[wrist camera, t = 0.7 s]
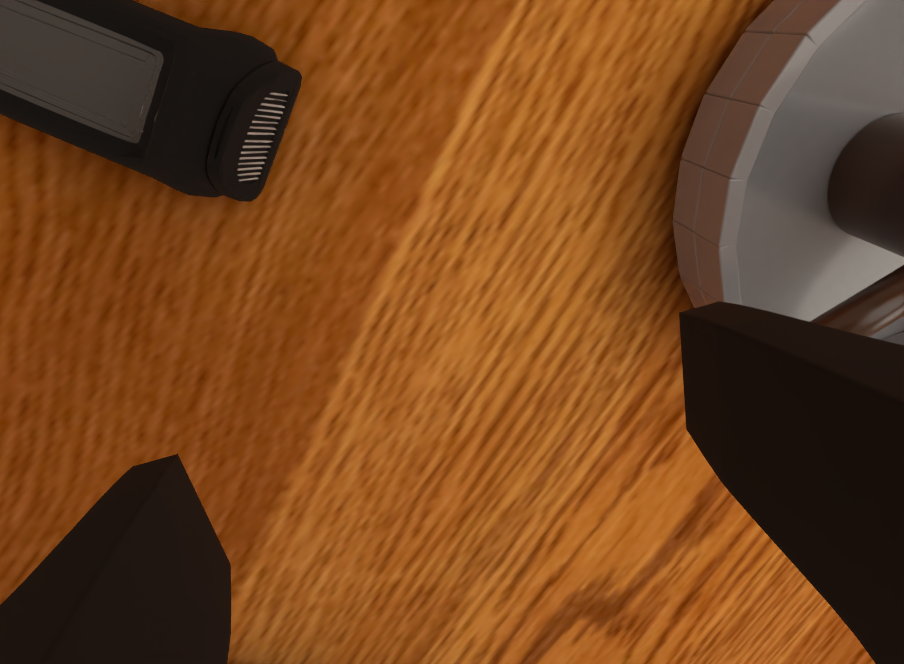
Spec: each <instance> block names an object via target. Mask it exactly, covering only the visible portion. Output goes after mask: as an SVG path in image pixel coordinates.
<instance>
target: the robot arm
mask: <svg viewBox="0 0 904 664" xmlns="http://www.w3.org/2000/svg"><path fill="white" fill-rule="evenodd" d="M679 318H680V334H681V349H682V365H683V381H684V397H685V413H686V428H687V431H688V432H689V434H690V435H691V437H692V438H693V440H694V441H695V443H696V445H697V446H698V448H699V449H700V451H701V452H702V454H703V456H704V457H705V459H706V460H707V462H708V463H709V464H710V466H711V467H712V469H713V470H714V472H715V473H716V475H717V476H718V478H719V479H720V480H721V482H722V483H723V484H724V486H725V487H726V488H727V489H728V490H729V491H730V493H731V494H732V495H733V496H734V497H735V498H736V500H737V501H738V502H739V503H740V504H741V505H742V506H743V508H744V509H745V510H746V511H747V512H748V513H749V514H750V516H751V517H752V518H753V519H754V520H755V521H756V522H757V524H758V525H759V526H760V527H761V528H762V529H763V530H764V531H765V533H766V534H767V535H768V536H769V537H770V538H771V539H772V540H773V541H774V543H775V544H776V545H777V546H778V547H779V548H780V549H781V550H782V552H783V553H784V554H785V555H786V556H787V557H788V558H789V559H790V561H791V562H792V563H793V564H794V565H795V566H796V567H797V568H798V569H799V571H800V572H801V573H802V574H803V575H804V576H805V577H806V578H807V580H808V581H809V582H810V583H811V584H812V585H813V586H814V587H815V589H816V590H817V591H818V592H819V593H820V594H821V595H822V596H823V597H824V599H825V600H826V601H827V602H828V603H829V604H830V605H831V607H832V608H833V609H834V610H835V611H836V613H837V614H838V615H839V616H840V617H841V619H842V620H843V621H844V622H845V624H846V625H847V626H848V627H849V628H850V630H851V631H852V632H853V633H854V635H855V636H856V637H857V638H858V640H859V641H860V643H861V644H862V645H863V647H864V648H865V649H866V651H867V652H868V653H869V655H870V656H871V658H872V659H873V660H874V662H875V663H876V664H904V345H901V344H896V343H892V342H888V341H884V340H879V339H875V338H871V337H867V336H863V335H859V334H855V333H851V332H847V331H843V330H839V329H835V328H831V327H828V326H824V325H820V324H816V323H812V322H808V321H805V320H801V319H797V318H793V317H789V316H785V315H782V314H778V313H774V312H770V311H766V310H761V309H757V308H753V307H749V306H744V305H739V304H734V303H728V302H721V301H718V302H715V303H711V304H708V305H704V306H701V307H697V308H693V309H690V310H686V311H683V312H679ZM230 635H231V566H230V562H229V560H228V558H227V556H226V554H225V552H224V550H223V548H222V546H221V544H220V541H219V539H218V537H217V535H216V533H215V531H214V529H213V527H212V525H211V523H210V521H209V518H208V516H207V514H206V512H205V510H204V508H203V506H202V504H201V502H200V500H199V498H198V496H197V493H196V491H195V489H194V487H193V485H192V483H191V481H190V479H189V477H188V475H187V473H186V470H185V468H184V466H183V464H182V462H181V460H180V458H179V456H178V454H176V455H172V456H169V457H165V458H162V459H158V460H154V461H151V462H147V463H144V464H140V465H137V466H133V467H132V468H131V469H129V470H128V471H127V472H126V473H125V474H124V475H123V476H122V477H121V478H120V479H119V480H118V481H117V482H116V483H115V484H114V485H113V486H112V487H111V488H110V489H109V490H108V491H107V492H106V493H105V494H104V495H103V496H102V497H101V498H100V499H99V500H98V502H97V503H96V504H95V505H94V506H93V507H92V508H91V509H90V510H89V511H88V512H87V513H86V515H85V516H84V517H83V518H82V519H81V520H80V521H79V522H78V523H77V524H76V526H75V527H74V528H73V529H72V530H71V531H70V532H69V533H68V534H67V535H66V536H65V537H64V539H63V540H62V541H61V542H60V543H59V544H58V545H57V546H56V547H55V548H54V549H53V550H52V552H51V553H50V554H49V555H48V556H47V557H46V558H45V559H44V560H43V561H42V562H41V563H40V565H39V566H38V567H37V568H36V569H35V570H34V571H33V572H32V573H31V574H30V575H29V576H28V578H27V579H26V580H25V581H24V582H23V583H22V584H21V585H20V586H19V587H18V588H17V589H16V590H15V591H14V592H13V593H12V594H11V595H10V596H9V597H8V598H7V599H6V600H5V601H4V602H3V603H2V604H1V605H0V664H227V660H228V652H229V644H230Z"/></svg>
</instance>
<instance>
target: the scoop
mask: <svg viewBox="0 0 904 664" xmlns="http://www.w3.org/2000/svg"><path fill="white" fill-rule="evenodd" d="M828 205H829V209H830V212H831V215H832V217H833V219H834V221H835V222H836V224H837V225H838V226H839V227H840V228H841V229H842V230H843V231H845V232H846V233H848V234H850V235H852V236H854V237H857V238H859V239H861V240H864V241H866V242H869V243H871V244H873V245H876V246H878V247H880V248H883V249H885V250H887V251H890V252H892V253H895V254H897V255H899V256H902V257H904V113H899V114H893V115H889V116H885V117H883V118H880V119H878V120H876V121H874V122H872V123H871V124H869V125H868V126H866V127H865V128H863V129H862V130H861V131H860V132H859V133H857V134H856V135H855V136H854V137H853V138H852V139H851V140H850V142H849V143H848V144H847V145H846V147H845V148H844V149H843V151H842V152H841V154H840V155H839V157H838V159H837V161H836V163H835V165H834V168H833V170H832V173H831V176H830V180H829V186H828ZM903 316H904V265H903V266H901V267H899V268H898V269H896V270H894V271H893V272H891V273H889V274H888V275H886V276H884V277H883V278H881V279H879V280H878V281H876V282H874V283H873V284H871V285H870V286H868V287H866V288H865V289H863V290H861V291H860V292H858V293H856V294H855V295H853V296H851V297H850V298H848V299H846V300H845V301H843V302H841V303H840V304H838V305H836V306H835V307H833V308H831V309H830V310H828V311H826V312H825V313H823V314H821V315H820V316H818V317H816V318H815V319H813V320H811V321H810V322H812V323H816V324H820V325H824V326H828V327H831V328H835V329H839V330H843V331H847V332H851V333H855V334H859V335H863V336H867V337H869V336H871V335H873V334H874V333H876V332H878V331H880V330H881V329H883V328H885V327H886V326H888V325H890V324H891V323H893V322H895V321H896V320H898V319H900V318H901V317H903Z"/></svg>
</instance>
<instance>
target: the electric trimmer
mask: <svg viewBox="0 0 904 664" xmlns="http://www.w3.org/2000/svg"><path fill="white" fill-rule="evenodd" d="M301 79H302V76H301V74H300V72H299V71H297V70H295V69H293V68H291V67H289V66H287V65H285V64H283V63H281V62H278V60H277V57H276V54H275V52H274V50H273V49H272V48H271V47H269V46H267V45H265V44H264V43H262V42H260V41H259V40H257V39H255V38H254V37H251V36H248V35H245V34H242V33H238V32H232V31H224V30H216V29H208V28H200V27H197V26H194V25H192V24H189V23H187V22H184V21H182V20H179V19H177V18H174V17H172V16H169V15H167V14H164V13H162V12H159V11H157V10H154V9H152V8H149V7H147V6H144V5H142V4H139V3H137V2H134V1H132V0H0V114H2V115H4V116H6V117H9V118H11V119H13V120H16V121H18V122H20V123H23V124H25V125H27V126H30V127H32V128H35V129H37V130H39V131H42V132H44V133H46V134H49V135H51V136H53V137H56V138H58V139H61V140H63V141H65V142H68V143H70V144H73V145H75V146H77V147H80V148H82V149H85V150H87V151H89V152H92V153H94V154H97V155H99V156H101V157H104V158H106V159H109V160H111V161H113V162H116V163H118V164H121V165H123V166H126V167H128V168H130V169H133V170H135V171H138V172H140V173H142V174H145V175H147V176H150V177H152V178H154V179H156V180H158V181H160V182H162V183H164V184H166V185H168V186H170V187H172V188H174V189H176V190H178V191H181V192H183V193H186V194H188V195H194V196H205V197H219V196H222V195H224V196H227V197H230V198H233V199H235V200H238V201H252V200H254V199H255V198H257V196H258V195H259V194H260V193H261V191H262V189H263V187H264V185H265V182H266V179H267V177H268V174H269V171H270V170H271V169H270V168H271V166H272V163H273V160H274V158H275V155H276V153H277V149H278V147H279V144H280V142H281V138H282V136H283V133H284V131H285V128H286V125H287V122H288V119H289V117H290V114H291V113H292V112H291V111H292V108H293V107H294V103H295V101H296V97H297V95H298V92H299V89H300V86H301Z"/></svg>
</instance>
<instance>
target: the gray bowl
mask: <svg viewBox="0 0 904 664" xmlns="http://www.w3.org/2000/svg"><path fill="white" fill-rule="evenodd" d="M745 31H746V32H744V33H743V34H742V35H741V37H740V39H739V40H738V42H737V43H736V45H735V46H734V48H733V50H732V51H731V53H730V54H729V56H728V57H727V59H726V61H725V62H724V64H723V65H722V67H721V68H720V70H719V72H718V73H717V75H716V76H715V78H714V80H713V81H712V83H711V84H710V86H709V87H708V89H707V91H706V93H707V94H705V95H704V96H703V99H702V101H701V104H700V107H699V109H698V112H697V115H696V118H695V120H694V123H693V126H692V128H691V131H690V134H689V136H688V139H687V142H686V145H685V147H684V150H683V153H682V155H681V158H682V159H681V161H680V166H679V174H678V182H677V190H676V197H675V205H674V213H673V230H674V237H675V245H676V253H677V261H678V268H679V274H680V278H681V280H682V282H683V284H684V287H685V289H686V291H687V293H688V295H689V298H690V300H691V302H692V304H693V306H694V308H697V307H701V306H704V305H708V304H711V303H715V302H718V301H721V302H728V303H734V304H739V305H744V306H749V307H753V308H757V309H761V310H766V311H770V312H774V313H778V314H782V315H785V316H789V317H793V318H797V319H801V320H805V321H808V322H810V321H811V320H813V319H815V318H816V317H818V316H820V315H821V314H823V313H825V312H826V311H828V310H830V309H831V308H833V307H835V306H836V305H838V304H840V303H841V302H843V301H845V300H846V299H848V298H850V297H851V296H853V295H855V294H856V293H858V292H860V291H861V290H863V289H865V288H866V287H868V286H870V285H871V284H873V283H874V282H876V281H878V280H879V279H881V278H883V277H884V276H886V275H888V274H889V273H891V272H893V271H894V270H896V269H898V268H899V267H901V266H903V265H904V257H902V256H899V255H897V254H895V253H892V252H890V251H887V250H885V249H883V248H880V247H878V246H876V245H873V244H871V243H869V242H866V241H864V240H861V239H859V238H857V237H854V236H852V235H850V234H848V233H846V232H845V231H843V230H842V229H841V228H840V227H839V226H838V225H837V224H836V222H835V221H834V219H833V217H832V215H831V212H830V209H829V205H828V186H829V180H830V176H831V173H832V170H833V168H834V165H835V163H836V161H837V159H838V157H839V155H840V154H841V152H842V151H843V149H844V148H845V147H846V145H847V144H848V143H849V142H850V140H851V139H852V138H853V137H854V136H855V135H856V134H857V133H859V132H860V131H861V130H862V129H863V128H865V127H866V126H868V125H869V124H871V123H872V122H874V121H876V120H878V119H880V118H883V117H885V116H889V115H893V114H899V113H904V0H774V1H773V2H772V3H771V4H770V5H769V6H768V7H767V8H766V9H765V10H764V11H763V12H762V13H761V14H760V15H759V16H758V17H757V18H756V19H755V20H754V21H753V22H752V23H751V24H750V25H749V26H748V27H747V28H746V30H745ZM869 337H871V338H875V339H879V340H884V341H888V342H892V343H896V344H901V345H904V316H903V317H901V318H900V319H898V320H896V321H895V322H893V323H891V324H890V325H888V326H886V327H885V328H883V329H881V330H880V331H878V332H876V333H874V334H873V335H871V336H869Z"/></svg>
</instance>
